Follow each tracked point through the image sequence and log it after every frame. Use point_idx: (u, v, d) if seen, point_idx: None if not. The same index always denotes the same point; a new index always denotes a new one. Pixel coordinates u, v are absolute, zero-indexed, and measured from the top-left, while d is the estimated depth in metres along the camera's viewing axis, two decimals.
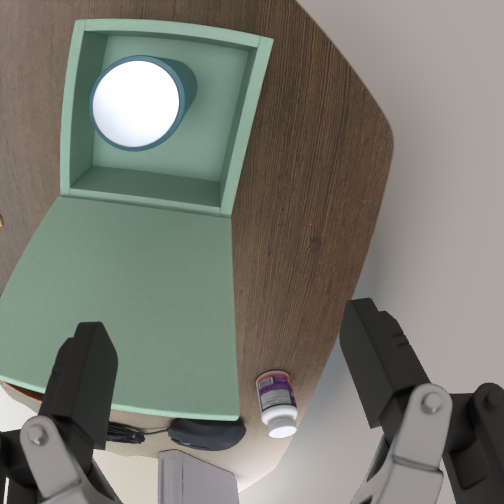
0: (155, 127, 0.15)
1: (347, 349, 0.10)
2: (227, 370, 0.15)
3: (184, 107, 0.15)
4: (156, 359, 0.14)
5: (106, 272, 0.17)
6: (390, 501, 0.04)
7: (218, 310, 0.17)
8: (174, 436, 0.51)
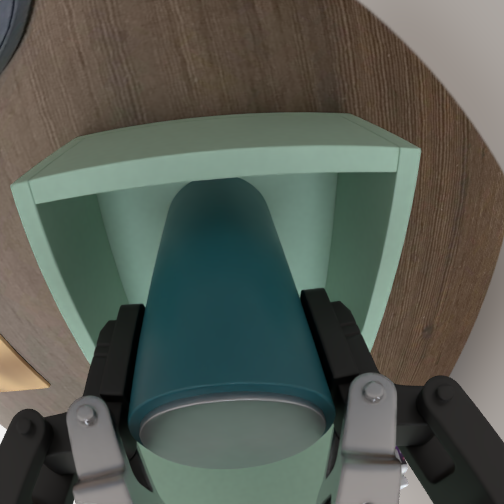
0: (283, 451, 0.07)
1: None
2: None
3: (332, 418, 0.07)
4: None
5: None
6: (349, 499, 0.04)
7: None
8: None
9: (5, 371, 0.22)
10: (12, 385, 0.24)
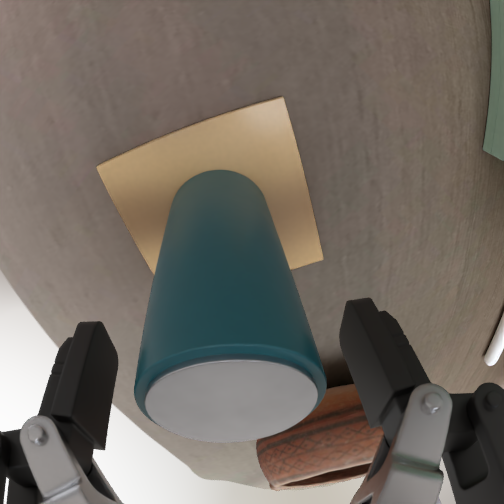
0: (279, 422, 0.08)
1: (347, 349, 0.10)
2: None
3: (324, 388, 0.08)
4: None
5: None
6: (390, 501, 0.04)
7: None
8: None
9: None
10: None
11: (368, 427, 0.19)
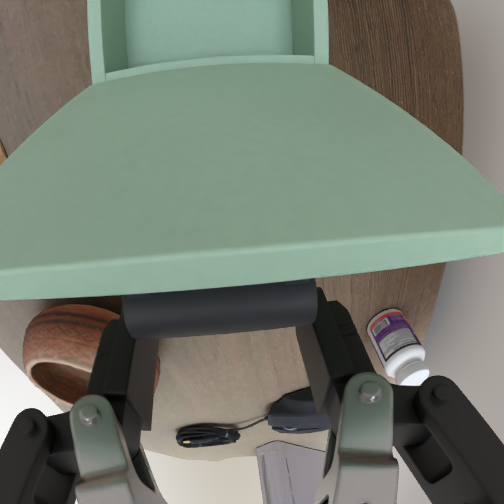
0: None
1: (300, 338, 0.10)
2: (463, 165, 0.07)
3: None
4: (340, 157, 0.06)
5: (185, 99, 0.10)
6: (346, 499, 0.04)
7: (389, 111, 0.09)
8: (276, 423, 0.45)
9: None
10: None
11: (56, 329, 0.23)
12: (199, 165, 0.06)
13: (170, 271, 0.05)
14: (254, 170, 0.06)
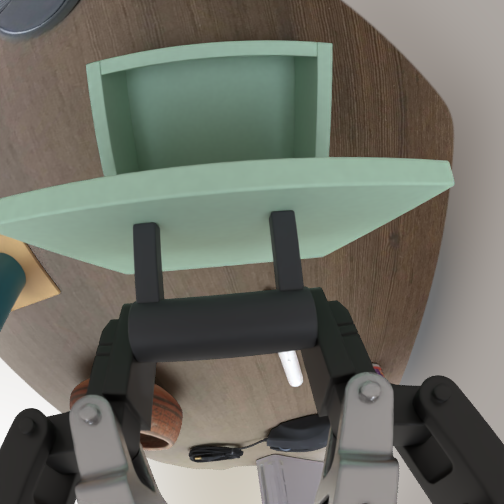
0: None
1: None
2: None
3: None
4: None
5: None
6: (346, 499, 0.04)
7: None
8: (273, 445, 0.52)
9: None
10: (24, 299, 0.30)
11: None
12: None
13: (184, 175, 0.07)
14: None
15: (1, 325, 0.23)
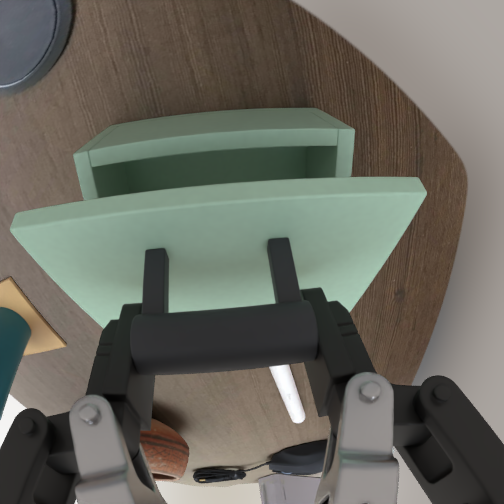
0: None
1: None
2: None
3: None
4: None
5: None
6: (347, 499, 0.04)
7: None
8: (275, 469, 0.52)
9: None
10: (30, 348, 0.29)
11: None
12: None
13: (192, 192, 0.09)
14: None
15: (11, 382, 0.22)
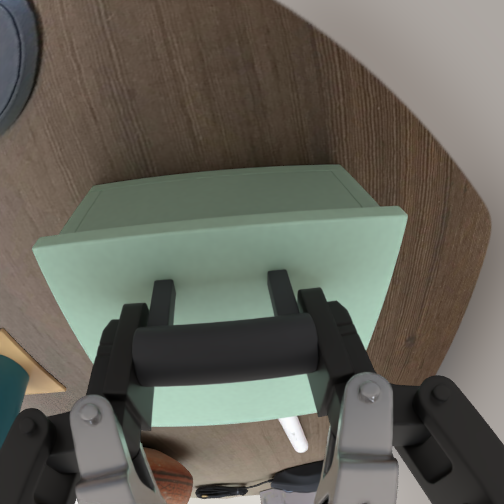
0: None
1: None
2: None
3: None
4: None
5: None
6: (346, 499, 0.04)
7: None
8: (277, 487, 0.50)
9: None
10: (29, 389, 0.27)
11: None
12: None
13: (199, 222, 0.10)
14: None
15: None
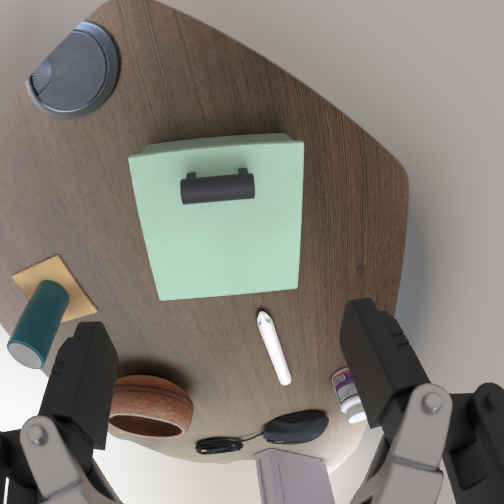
0: (36, 363, 0.29)
1: (347, 349, 0.10)
2: None
3: (41, 355, 0.28)
4: None
5: None
6: (390, 501, 0.04)
7: None
8: (269, 437, 0.62)
9: None
10: (65, 315, 0.40)
11: (132, 396, 0.40)
12: None
13: (208, 146, 0.24)
14: None
15: (53, 337, 0.32)
